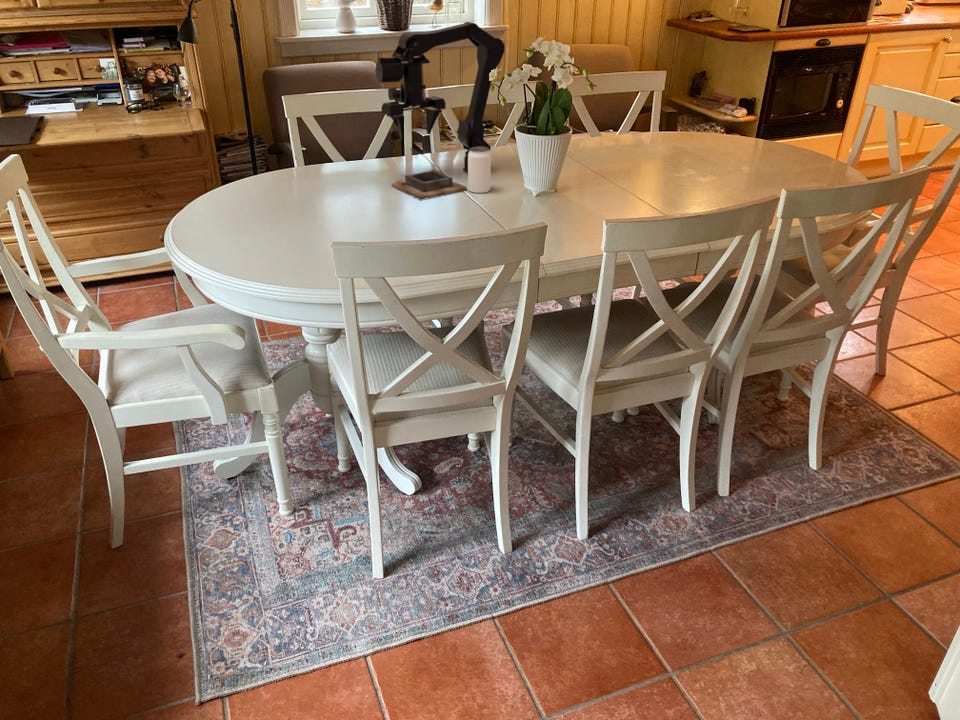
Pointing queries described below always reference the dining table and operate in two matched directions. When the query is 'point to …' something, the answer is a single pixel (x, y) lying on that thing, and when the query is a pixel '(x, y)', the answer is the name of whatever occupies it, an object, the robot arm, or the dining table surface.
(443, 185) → the socket block
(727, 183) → the dining table surface
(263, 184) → the dining table surface
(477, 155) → the can
